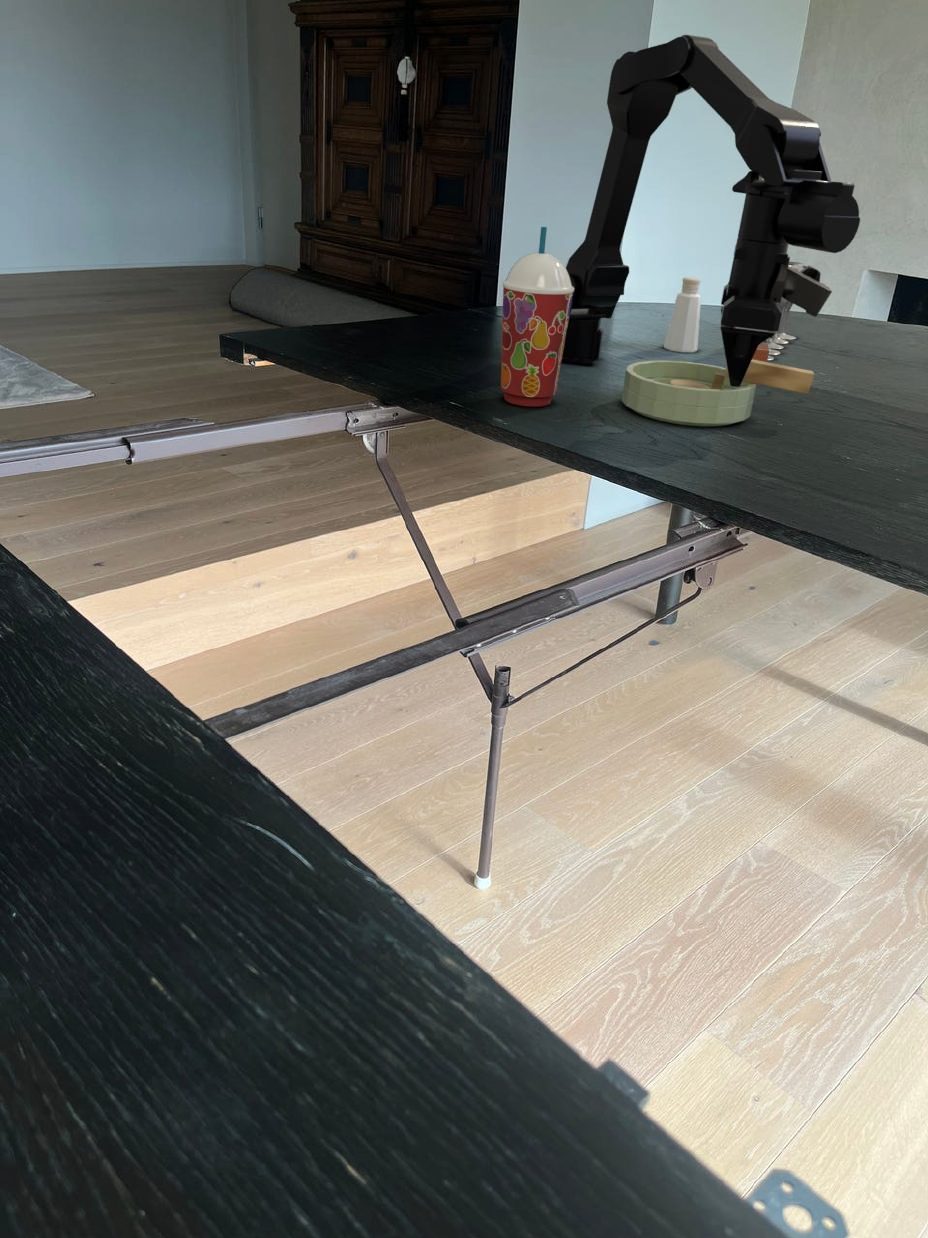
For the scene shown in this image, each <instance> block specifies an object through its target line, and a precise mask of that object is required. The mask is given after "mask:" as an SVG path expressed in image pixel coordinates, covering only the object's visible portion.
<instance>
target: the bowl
mask: <svg viewBox="0 0 928 1238" xmlns="http://www.w3.org/2000/svg"><path fill="white" fill-rule="evenodd" d="M725 369H726V367H723V366H717V365H712V364H707V363H706V364H705V363H701V362H691V361H683V360H644V361H638V362H633V363H632V364H628V365H627V366H626V369H625V375H624V381H623V387H622V396H621V402H622V403H623V404H624V405H625V407H628V408H629V409H632V411H634V412H635V413H637V414H639V415H641V416H643V417H646V418H649V419H653V420H655V421H660V422H663V423H669V424H674V425H680V426H681V425H682V426H690V427H691V426H692V427H723V426H729V425H733V424H736V423H739V422H744V421H745V420H747V419H749V418H750V417H751V413H752V409H753V403H754V399H755V394H756V388H757V384H755V383H750V382H745V381H742V383H741V385H740V386H739V387H734V386H731V385H730V380H729V378H725V379H724V382H723V386H722V389H698V388H690V387H681V386H675V385H670V382H671V381H672V380H688V381H693V382H697V383H701V384H704V385H706V386H709V387H710V388H711V387H712V383H713V379H714V375H715V373H721V374H724V373H725Z"/></svg>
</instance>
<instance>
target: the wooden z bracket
mask: <svg viewBox="0 0 928 1238" xmlns="http://www.w3.org/2000/svg"><path fill="white" fill-rule="evenodd" d="M725 368H726V369H725V373H724V374H721V373H715V375H714V379H713V383H712V387H711V388H710V387H709V386H706V385H704V384H701V383H697V382H693V381H688V380H672V381H671V382H670V385H675V386H681V387H690V388H698V389H722V386H723V382H724V379H725V378H729V374H728V368H727V365H725ZM814 377H815V373H814V371H813V370H809V369H804V368H799V367H795V366H788V365H784V364H779V363H773V362H768V361H767V362H763V361H758V360H753V359H752V360H751V363H750V365H749V367H748V369H747V372H746V374H745V376H744V378H743V381H745V382H750V383H755V384H756V385H761V386H766V387H770V388H776V389H781V390H786V391H790V392H796V393H801V394H805V395H809V393H810V389H811V386H812V383H813V380H814Z"/></svg>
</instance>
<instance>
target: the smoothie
mask: <svg viewBox="0 0 928 1238" xmlns="http://www.w3.org/2000/svg"><path fill="white" fill-rule="evenodd" d="M547 229H548V227H547V226H541V227H540V235H539V244H538V245H539V246H538V251H536V252H531V253H529V254H526V255H524V256H523V257H521V258H519V259H518V260H517V261H516V262H515V263H514V264H513V265H512V267H511V268H510V270H509V272H508V274H507V277H506V278H505V280H503V281H502V287H503V289H502V321H501V323H502V325H501V331H502V333H501V369H500V390H501V391H502V392H503V394H504V395H503V396H504V400H505V401H506V402H507V403H509V404H511V405H513V406H514V405H515V406H518V407H525V408H540V407H545V406H548V405H550V404H551V402H552V398H553V396H555V395H556V394H557V390H558V389H557V388H558V383H559V380H560V379H559V378H560V374H561V373H560V371H561V366H562V362H561V361H562V355H563V349H564V343H565V337H566V332H567V326H568V320H569V314H570V308H571V302H572V295H573V292H574V287H573V286H572V285H571V281H570V277H569V274H568V272H567V270H566V266H565V265H564V264H563V262H562V261H561V260H559V258H557V257H556V256H554V255H552V254H550V253H548V252H545V251H546V242H547V241H546V240H547V231H548V230H547Z"/></svg>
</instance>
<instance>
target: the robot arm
mask: <svg viewBox="0 0 928 1238" xmlns="http://www.w3.org/2000/svg"><path fill="white" fill-rule="evenodd" d="M692 89H693V90H694V91H695V92H696V94H698V95H699V96H700V97H701V98H702V99H703V100H704V101H705V103H706V104H707V105H709V106H710V108H712V110H714V112H715V113H716V114H717V115H718V116H719V117H720V118H721V119H722V120H723V121H724V122H725V123H726V124H727V125H728V126H729V127H730V129H731V130H732V132H733V134H734V142H735V148H736V150H737V151H738V153H739V155H740V156H741V158H742V160H743V162H744V163H745V164H746V166H747V168H748V169H749V171H748V172H747V173H746V175H745V176H744V177H743V178H741V179H740V180H738V181H736V183H735V184H733V185H732V188H731V191H732V192H733V193H738V194H744V195H745V198H744V203H743V208H742V212H741V217H740V223H739V228H738V233H737V238H736V244H735V246H734V250H733V259H732V263H731V269H730V274H729V279H728V282H727V284H726V285H724V286H723V291H722V296H721V300H720V305H721V306H720V313H721V314H720V315H721V316H720V333H721V338H722V339H721V340H722V344H723V350H724V351H723V352H724V357H725V362H726V366H727V368H728V374H729V380H730V385H731V386H734V387H739V386H740V385H741V383H742V381H743V378H744V376H745V374H746V372H747V369H748V367H749V365H750V363H751V360H752V358H753V356H754V354H755V352H756V349H757V347H758V346H759V344H761V343H762V342H764V343H765V341H766V340H767V339H768V338H770V339H771V338H773V336H774V335H775V334H777V332H778V330H779V325H780V320H781V316H782V312H781V310H780V308H779V307H778V305H777V304H776V303H781V299H782V298H784V299H786V300H787V301H789V302H791V303H793V305H794V306H797V307H799V308H801V309H803V310H804V311H805V313H806V314H808V315H809V316H811V317H815V318H816V317H817V316H818V315H819V314H820V312H821V310H822V308H823V307H824V306H825V304H826V302H827V300H828V299H829V297H830V296H831V294H832V293H833V291H832V289H831V288H830V287H829V286H827V285H826V284H825V283H823V282H821V274H822V273H821V271H820V270H819V269H817V268H816V267H813V266H811V265H806V266H807V267H806V268H804V269H803V270H801V271H800V272H799V271H798V270H796V269H793V268H791V267H789V266H788V265H789V262H791V261H790V260H791V257H790V256H789V254H788V249H789V245H790V246H792V247H798V248H804V249H809V250H815V251H820V252H824V253H825V252H826V253H831V254H837V253H841V252H842V251H845V249H846V248H847V247H849V246H850V244H851V243H852V242H853V240H854V239H855V237H856V235H857V233H858V230H859V227H860V223H861V217H860V208H859V204H858V201H857V199H856V198H855V197H854V196H853V194H854V190H855V187H856V186H855V183H854V182H847V181H846V182H845V181H832V179H831V174H830V172H829V169H828V165H827V162H826V159H825V155H824V153H823V149H822V146H821V145H822V144H821V142H820V140H821V139H820V138H821V136H822V131H821V128H820V126H819V125H818V123H817V122H816V121H815V120H813V119H812V118H810V117H808V116H807V115H805V114H803V113H801V112H799V111H798V110H796V109H794V108H791V107H789V106H786V105H783V104H781V103H779V102H776V101H774V100H773V99H771V98H769V97H768V96H767V95H766V94H765V93H764V92H763V91H762V90H761V89H760V88H759V87H758V85H756V84H755V83H754V82H753V81H752V80H751V79H750V78H749V77H748V76H747V75H746V74H744V72H743V71H742V70H741V69H740V68H739V67H738V66H736V64H735V63H733V62H732V61H731V60H730V59H729V58H728V57H727V56H726V55H725V54H724V53H723V52H722V51H721V49H720V48H719V46H718V44H717V42H715V41H714V40H713V39H711V37H706V36H697V35H693V34H692V35H691V34H682V35H681V36H678V37H675V38H673V39H671V40H669V41H668V42H665V43H662V44H656V45H653V46H649V47H646V48H643V49H639V50H637V51H627V52H624V53H623V54H622V55H621V56H620V58H617V59H616V60H615V62H614V64H613V66H612V69H611V73H610V78H609V85H608V91H607V99H606V106H607V109H608V113H609V117H610V121H611V126H612V127H611V128H612V129H611V134H610V138H609V141H608V146H607V150H606V152H605V153H606V154H605V157H604V161H603V164H602V170H601V174H600V179H599V182H598V186H597V190H596V194H595V198H594V202H593V205H592V210H591V214H590V217H589V222H588V226H587V230H586V234H585V238H584V240H583V242H582V243H581V244H580V245H579V246H578V248H577V249H576V250H574V252H573V254H572V255H571V256H570V257H569V258H568V260H567V263H566V266H565V268H566V270H567V272H568V274H569V277H570V281H571V285H572V286H573V287H574V292H573V295H572V302H571V308H570V314H569V320H568V326H567V332H566V337H565V343H564V349H563V355H562V361H561V363H568V364H577V365H585V366H586V365H587V366H594V365H595V363H596V362H597V361H598V360H599V359H600V357H601V353H602V348H603V347H602V345H603V339H604V331H605V329H604V328H603V327H601V323H602V319H606V320H607V319H612V317H613V314H614V311H615V309H616V306H617V303H618V302H619V300H620V299H621V296H624V295H625V286H626V282H627V279H628V277H629V274H630V266H629V265H628V264H627V265H626V264H624V261H623V257H622V252H621V246H622V241H623V238H624V235H625V231H626V227H627V224H628V220H629V217H630V212H631V209H632V205H633V202H634V197H635V195H636V190H637V187H638V183H639V180H640V176H641V172H642V169H643V165H644V162H645V159H646V154H647V150H648V146H649V143H650V140H651V138H652V136H653V135H654V133H655V132H656V131H657V130H658V129H659V128H660V126H661V125H662V124H663V123H664V122H665V120H666V119H667V118H668V116H669V115H670V112H671V110H672V108H673V105H674V103H675V99H676V98H677V96H678V95H680V94H683V93H684V92H687V91H689V90H692ZM775 331H776V332H775Z"/></svg>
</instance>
